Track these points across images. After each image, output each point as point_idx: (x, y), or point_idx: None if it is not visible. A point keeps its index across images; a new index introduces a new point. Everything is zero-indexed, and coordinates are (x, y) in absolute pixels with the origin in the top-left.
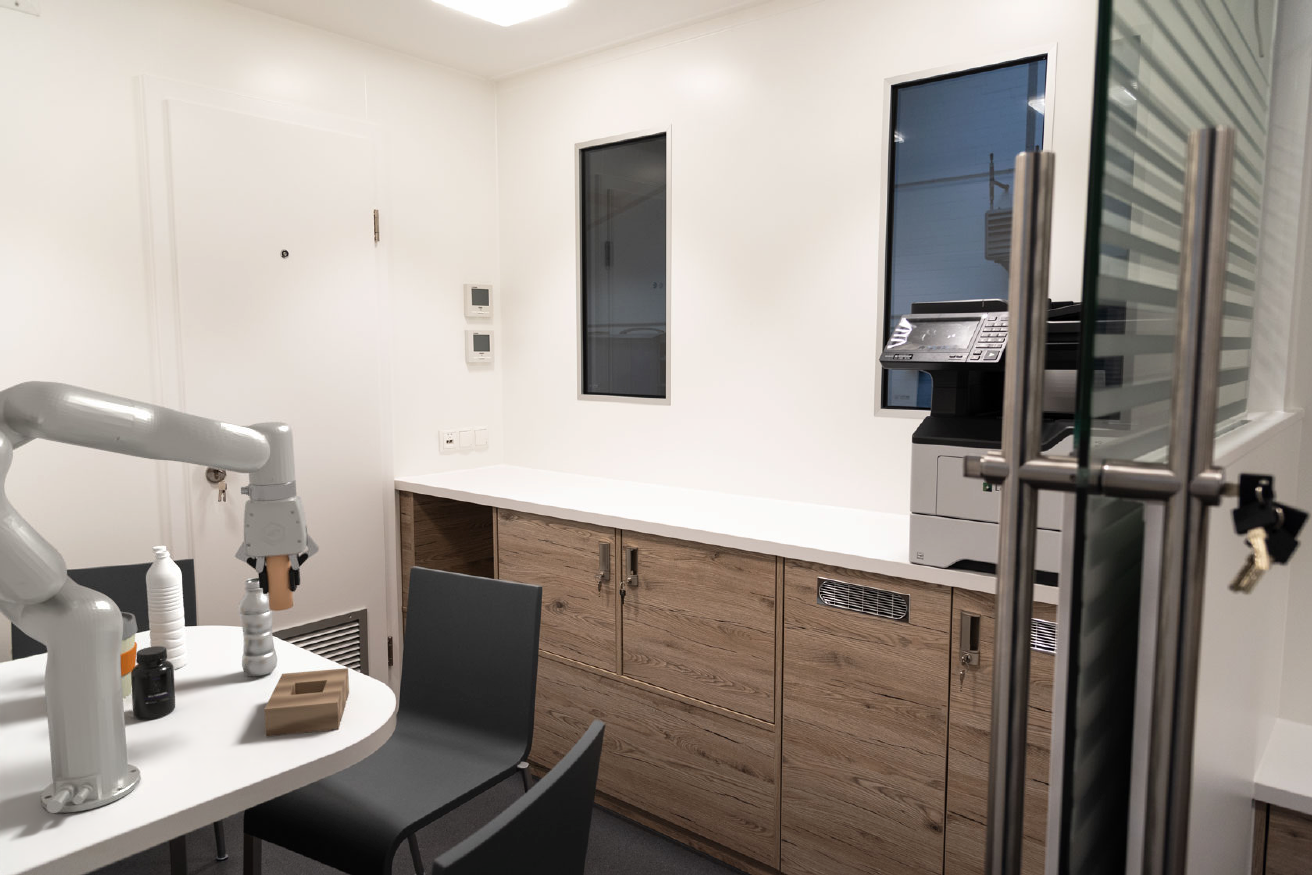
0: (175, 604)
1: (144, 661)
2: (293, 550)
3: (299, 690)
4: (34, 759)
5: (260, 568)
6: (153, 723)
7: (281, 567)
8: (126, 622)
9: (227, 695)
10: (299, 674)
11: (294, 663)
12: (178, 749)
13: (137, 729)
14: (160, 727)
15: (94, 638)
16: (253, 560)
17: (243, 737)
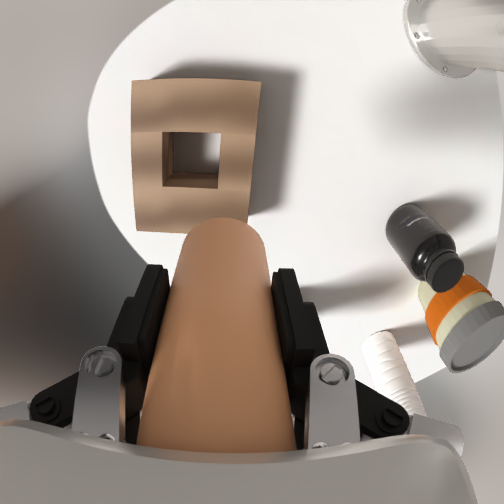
0: (394, 398)
1: (454, 253)
2: (31, 453)
3: (212, 183)
4: (492, 148)
5: (325, 378)
6: (407, 191)
7: (181, 367)
8: (464, 342)
9: (324, 251)
10: None
11: None
12: (376, 91)
13: (422, 180)
14: (400, 175)
15: None
16: (373, 425)
17: (292, 91)
